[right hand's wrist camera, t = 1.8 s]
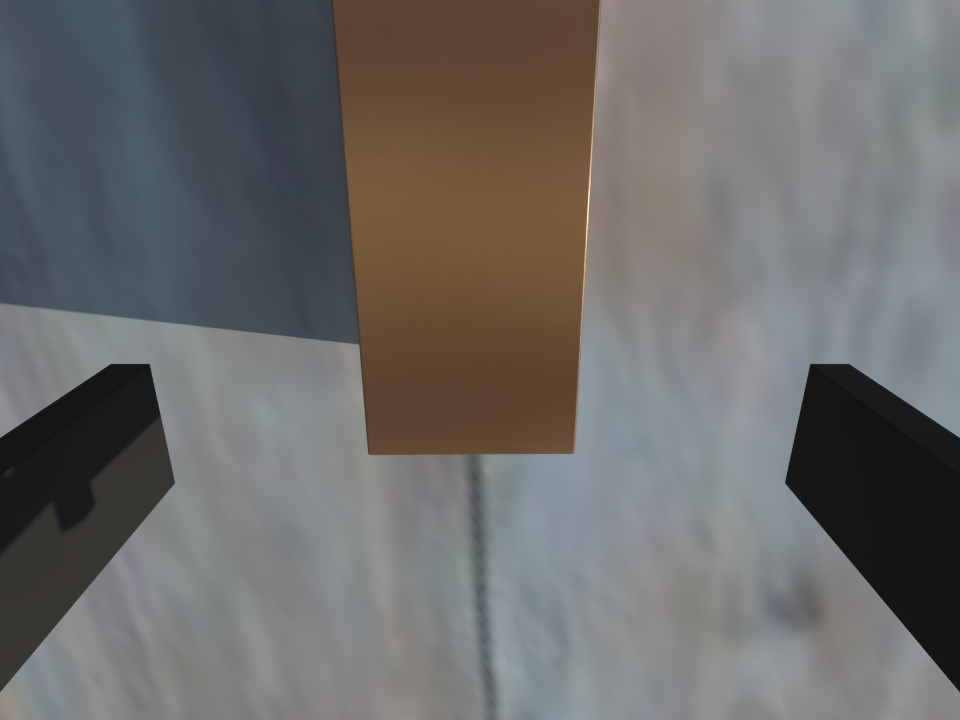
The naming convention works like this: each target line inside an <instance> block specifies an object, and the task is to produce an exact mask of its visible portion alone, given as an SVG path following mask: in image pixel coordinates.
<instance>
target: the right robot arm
mask: <svg viewBox="0 0 960 720" xmlns="http://www.w3.org/2000/svg"><path fill="white" fill-rule="evenodd" d="M174 484H175V481H174V476H173V471H172V467H171V462H170V457H169V453H168V448H167V443H166V439H165V434H164V429H163V425H162V420H161V415H160V411H159V406H158V401H157V397H156V392H155V387H154V382H153V378H152V373H151V368H150V364H110V365H109V366H107V367H106V368H104V369H103V370H101V371H100V372H98V373H97V374H95V375H94V376H92V377H91V378H89V379H88V380H86V381H85V382H83V383H82V384H80V385H79V386H77V387H76V388H74V389H73V390H71V391H70V392H68V393H67V394H65V395H64V396H62V397H61V398H59V399H58V400H56V401H55V402H53V403H52V404H50V405H49V406H47V407H46V408H44V409H43V410H41V411H40V412H38V413H37V414H35V415H34V416H32V417H31V418H29V419H28V420H26V421H25V422H23V423H22V424H20V425H19V426H17V427H16V428H14V429H13V430H11V431H10V432H8V433H7V434H5V435H4V436H2V437H1V438H0V692H1V690H2V689H3V688H4V687H5V686H6V685H7V683H8V682H9V681H10V680H11V679H12V677H13V676H14V675H15V674H16V673H17V671H18V670H19V669H20V668H21V667H22V665H23V664H24V663H25V662H26V661H27V659H28V658H29V657H30V656H31V655H32V653H33V652H34V651H35V650H36V649H37V647H38V646H39V645H40V644H41V643H42V641H43V640H44V639H45V638H46V637H47V635H48V634H49V633H50V632H51V631H52V629H53V628H54V627H55V626H56V625H57V623H58V622H59V621H60V620H61V619H62V618H63V616H64V615H65V614H66V613H67V612H68V610H69V609H70V608H71V607H72V606H73V604H74V603H75V602H76V601H77V600H78V598H79V597H80V596H81V595H82V594H83V592H84V591H85V590H86V589H87V588H88V586H89V585H90V584H91V583H92V582H93V580H94V579H95V578H96V577H97V576H98V574H99V573H100V572H101V571H102V570H103V568H104V567H105V566H106V565H107V564H108V562H109V561H110V560H111V559H112V558H113V557H114V555H115V554H116V553H117V552H118V551H119V549H120V548H121V547H122V546H123V545H124V543H125V542H126V541H127V540H128V539H129V537H130V536H131V535H132V534H133V533H134V531H135V530H136V529H137V528H138V527H139V525H140V524H141V523H142V522H143V521H144V519H145V518H146V517H147V516H148V515H149V513H150V512H151V511H152V510H153V509H154V507H155V506H156V505H157V504H158V503H159V501H160V500H161V499H162V498H163V497H164V495H165V494H166V493H167V492H168V491H169V490H170V488H171V487H172V486H173V485H174ZM785 484H786V485H787V486H788V487H789V488H790V490H791V491H792V492H793V493H794V494H795V495H796V497H797V498H798V499H799V500H800V501H801V503H802V504H803V505H804V506H805V507H806V509H807V510H808V511H809V512H810V513H811V515H812V516H813V517H814V518H815V519H816V521H817V522H818V523H819V524H820V525H821V527H822V528H823V529H824V530H825V531H826V533H827V534H828V535H829V536H830V537H831V539H832V540H833V541H834V542H835V543H836V545H837V546H838V547H839V548H840V549H841V551H842V552H843V553H844V554H845V555H846V557H847V558H848V559H849V560H850V561H851V562H852V564H853V565H854V566H855V567H856V568H857V570H858V571H859V572H860V573H861V574H862V576H863V577H864V578H865V579H866V580H867V582H868V583H869V584H870V585H871V586H872V588H873V589H874V590H875V591H876V592H877V594H878V595H879V596H880V597H881V598H882V600H883V601H884V602H885V603H886V604H887V606H888V607H889V608H890V609H891V610H892V612H893V613H894V614H895V615H896V616H897V618H898V619H899V620H900V621H901V622H902V623H903V625H904V626H905V627H906V628H907V629H908V631H909V632H910V633H911V634H912V635H913V637H914V638H915V639H916V640H917V641H918V643H919V644H920V645H921V646H922V647H923V649H924V650H925V651H926V652H927V653H928V655H929V656H930V657H931V658H932V659H933V661H934V662H935V663H936V664H937V665H938V667H939V668H940V669H941V670H942V671H943V673H944V674H945V675H946V676H947V677H948V679H949V680H950V681H951V682H952V683H953V685H954V686H955V687H956V688H957V689H958V690H959V692H960V438H959V437H958V436H956V435H955V434H953V433H952V432H950V431H949V430H947V429H946V428H944V427H943V426H941V425H940V424H938V423H937V422H935V421H934V420H932V419H931V418H929V417H928V416H926V415H925V414H923V413H922V412H920V411H919V410H917V409H916V408H914V407H913V406H911V405H910V404H908V403H907V402H905V401H904V400H902V399H901V398H899V397H898V396H896V395H895V394H893V393H892V392H890V391H889V390H887V389H886V388H884V387H883V386H881V385H880V384H878V383H877V382H875V381H874V380H872V379H871V378H869V377H868V376H866V375H865V374H863V373H862V372H860V371H859V370H857V369H856V368H854V367H853V366H851V365H850V364H810V368H809V373H808V378H807V382H806V387H805V392H804V397H803V401H802V406H801V411H800V415H799V420H798V425H797V429H796V434H795V439H794V443H793V448H792V453H791V457H790V462H789V467H788V471H787V476H786V481H785Z"/></svg>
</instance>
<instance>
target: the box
mask: <svg viewBox="0 0 960 720" xmlns="http://www.w3.org/2000/svg"><path fill="white" fill-rule="evenodd" d="M331 2H332V15H333V27H334V39H335V51H336V64H337V76H338V88H339V101H340V113H341V125H342V137H343V150H344V162H345V174H346V186H347V199H348V211H349V223H350V235H351V248H352V260H353V272H354V285H355V297H356V309H357V321H358V334H359V346H360V358H361V370H362V383H363V395H364V407H365V419H366V432H367V444H368V453H369V455H419V454H574V452H575V440H576V423H577V406H578V389H579V372H580V355H581V338H582V321H583V304H584V287H585V270H586V253H587V236H588V219H589V202H590V185H591V168H592V151H593V134H594V117H595V100H596V83H597V66H598V49H599V32H600V15H601V0H331Z"/></svg>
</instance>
